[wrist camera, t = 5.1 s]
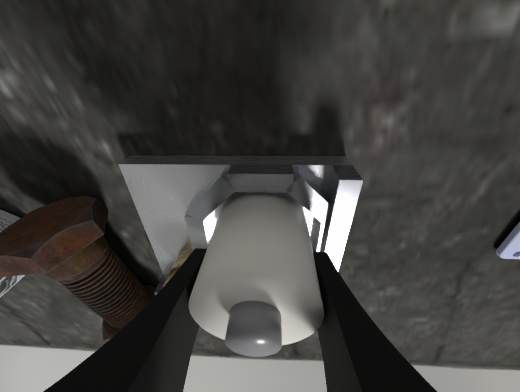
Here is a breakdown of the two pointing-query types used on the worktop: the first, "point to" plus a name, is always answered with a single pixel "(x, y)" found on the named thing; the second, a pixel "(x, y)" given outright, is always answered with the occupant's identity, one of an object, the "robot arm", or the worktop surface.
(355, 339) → the robot arm
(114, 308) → the bolt
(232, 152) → the worktop surface
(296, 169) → the carrier
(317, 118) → the worktop surface
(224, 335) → the white knobbed cylinder
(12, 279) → the light bulb box
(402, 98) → the worktop surface
